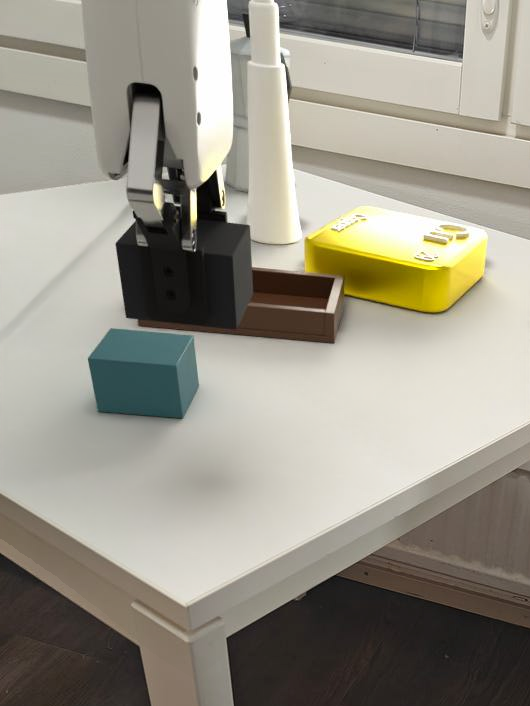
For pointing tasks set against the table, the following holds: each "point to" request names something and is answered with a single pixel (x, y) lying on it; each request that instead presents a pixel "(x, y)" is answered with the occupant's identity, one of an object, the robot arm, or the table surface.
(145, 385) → the teal block
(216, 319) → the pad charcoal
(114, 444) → the table surface
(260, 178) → the cosmetic bottle
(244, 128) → the coffee maker
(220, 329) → the tray
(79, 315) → the table surface
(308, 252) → the element tile
